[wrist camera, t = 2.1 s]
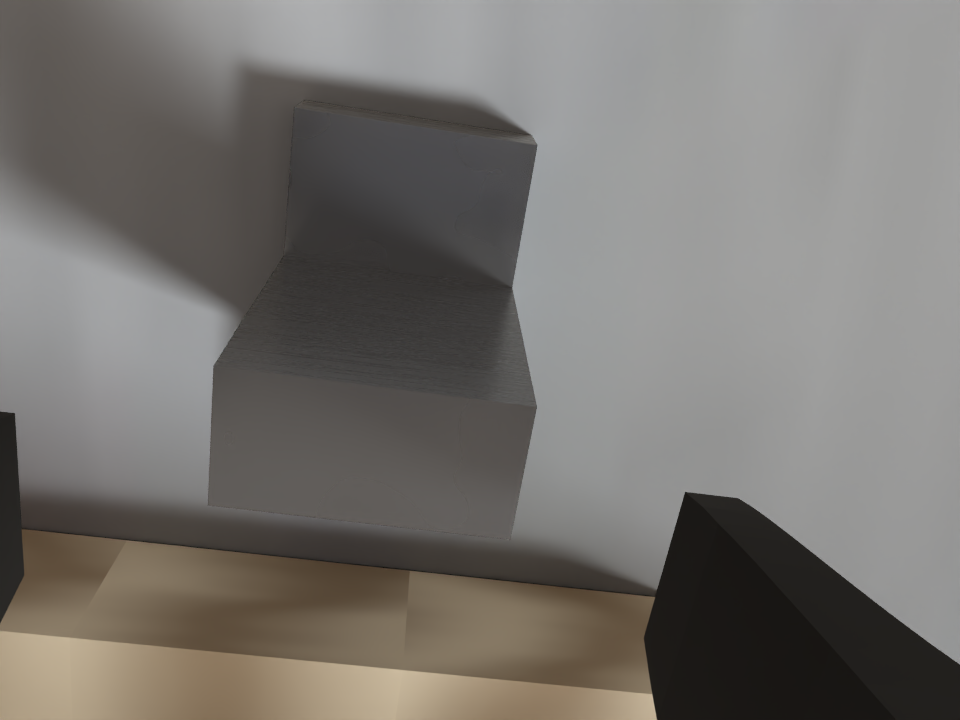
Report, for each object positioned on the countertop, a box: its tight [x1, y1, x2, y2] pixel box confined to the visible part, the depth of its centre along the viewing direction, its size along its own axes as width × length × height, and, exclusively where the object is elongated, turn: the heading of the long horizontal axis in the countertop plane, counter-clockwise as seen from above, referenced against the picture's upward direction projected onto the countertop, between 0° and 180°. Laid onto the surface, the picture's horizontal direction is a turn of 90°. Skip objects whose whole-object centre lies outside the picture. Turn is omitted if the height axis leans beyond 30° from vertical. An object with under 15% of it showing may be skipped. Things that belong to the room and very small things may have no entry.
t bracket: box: [208, 100, 537, 540], centre depth 14 cm, size 4×7×6 cm, turn 171°
